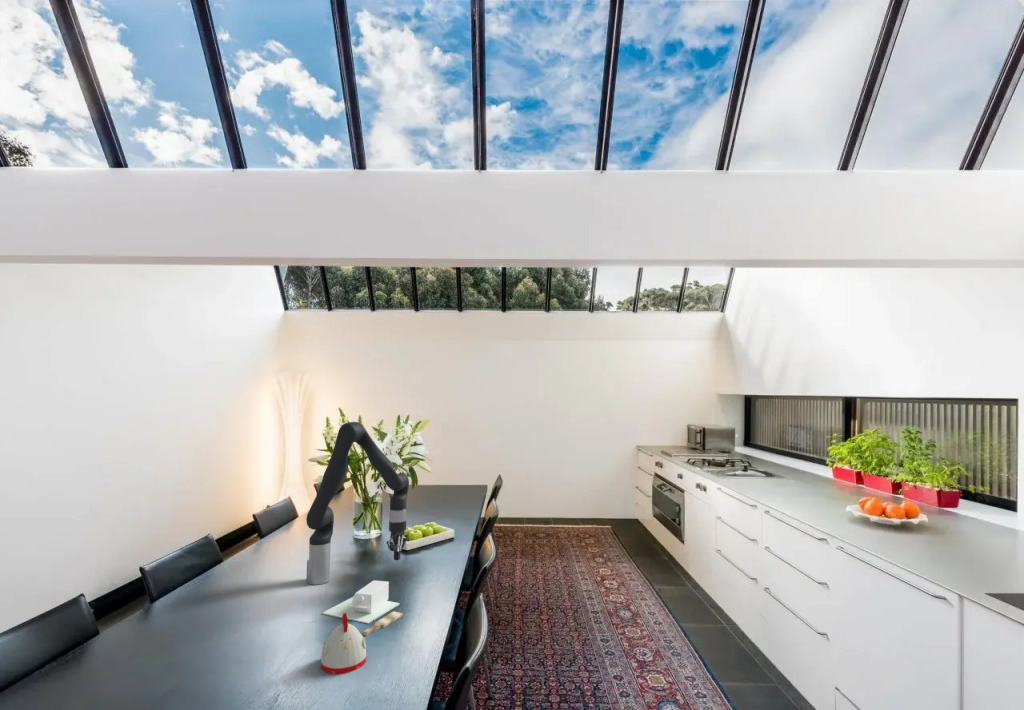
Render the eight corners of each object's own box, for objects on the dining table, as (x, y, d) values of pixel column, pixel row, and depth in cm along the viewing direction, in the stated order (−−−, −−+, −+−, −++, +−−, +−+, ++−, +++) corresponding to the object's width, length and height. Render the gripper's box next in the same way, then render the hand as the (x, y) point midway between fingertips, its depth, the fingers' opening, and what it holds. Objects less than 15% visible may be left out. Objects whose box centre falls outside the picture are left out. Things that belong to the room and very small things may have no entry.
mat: (322, 613, 207) (322, 612, 207) (356, 595, 225) (356, 594, 225) (368, 623, 198) (368, 622, 198) (399, 604, 216) (399, 603, 216)
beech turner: (369, 636, 188) (370, 633, 188) (359, 634, 189) (359, 630, 189) (402, 615, 206) (403, 612, 206) (393, 613, 208) (393, 610, 208)
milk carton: (388, 599, 220) (365, 617, 202) (373, 597, 222) (349, 616, 204) (389, 581, 221) (366, 598, 202) (373, 580, 223) (349, 596, 204)
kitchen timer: (322, 677, 161) (323, 626, 162) (319, 656, 173) (320, 609, 174) (369, 668, 166) (370, 618, 167) (363, 648, 179) (364, 602, 180)
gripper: (399, 515, 242) (398, 554, 241) (381, 522, 230) (380, 563, 229) (413, 517, 239) (412, 556, 238) (395, 523, 227) (394, 565, 226)
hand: (396, 559), depth 233 cm, fingers closed
